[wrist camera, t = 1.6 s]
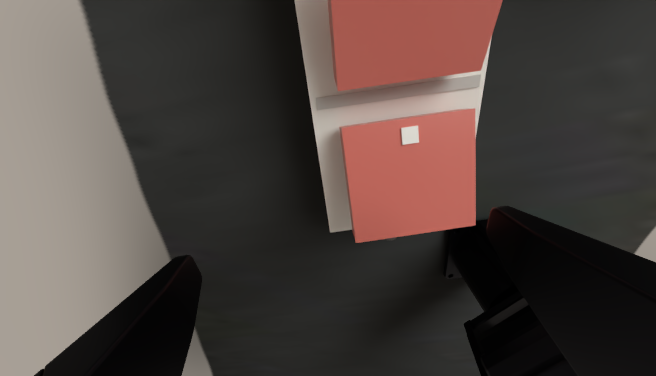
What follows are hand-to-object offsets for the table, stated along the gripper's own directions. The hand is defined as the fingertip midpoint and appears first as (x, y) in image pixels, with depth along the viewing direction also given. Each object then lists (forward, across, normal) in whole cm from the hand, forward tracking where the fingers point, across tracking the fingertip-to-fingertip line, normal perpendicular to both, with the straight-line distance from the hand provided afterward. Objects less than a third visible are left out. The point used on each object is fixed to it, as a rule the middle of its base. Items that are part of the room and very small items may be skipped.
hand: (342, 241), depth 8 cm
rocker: (+6, -4, +2) cm, 8 cm away
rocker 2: (+6, -4, -6) cm, 10 cm away
